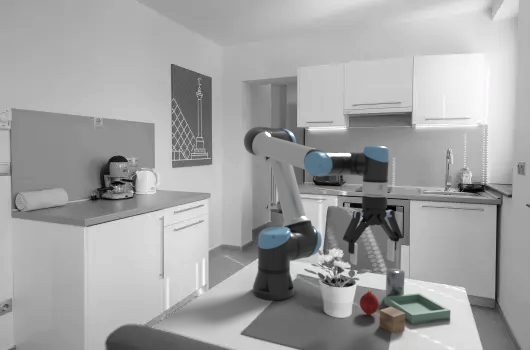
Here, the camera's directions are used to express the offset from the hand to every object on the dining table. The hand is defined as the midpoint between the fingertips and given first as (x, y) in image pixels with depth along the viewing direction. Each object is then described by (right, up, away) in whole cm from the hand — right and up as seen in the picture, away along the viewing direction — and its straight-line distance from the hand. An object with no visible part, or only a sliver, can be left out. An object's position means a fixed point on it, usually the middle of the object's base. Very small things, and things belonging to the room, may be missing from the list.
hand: (372, 262), depth 112 cm
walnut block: (+3, -18, -8) cm, 20 cm away
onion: (-1, -17, 0) cm, 17 cm away
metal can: (+12, -16, +13) cm, 24 cm away
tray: (+15, -17, +3) cm, 23 cm away
